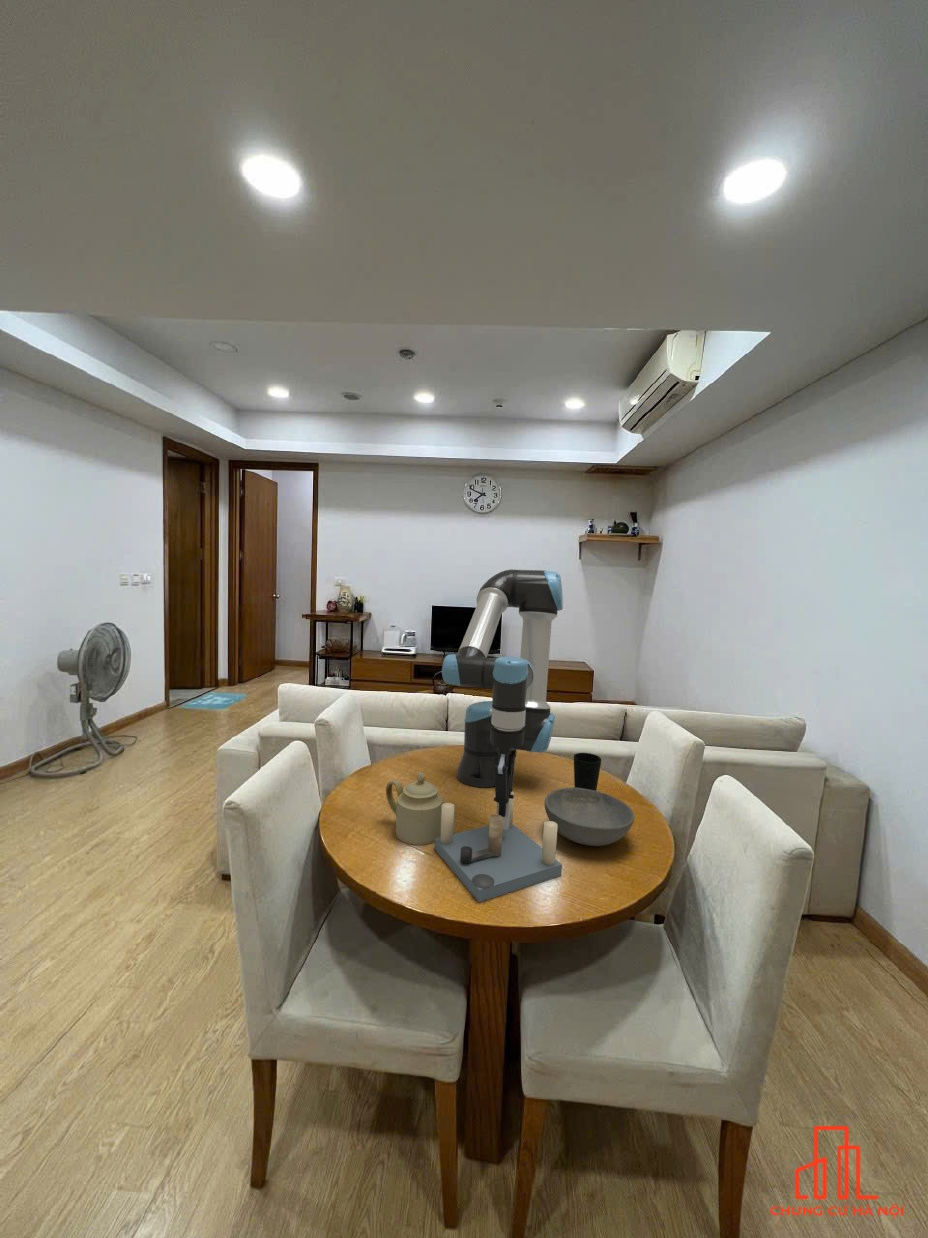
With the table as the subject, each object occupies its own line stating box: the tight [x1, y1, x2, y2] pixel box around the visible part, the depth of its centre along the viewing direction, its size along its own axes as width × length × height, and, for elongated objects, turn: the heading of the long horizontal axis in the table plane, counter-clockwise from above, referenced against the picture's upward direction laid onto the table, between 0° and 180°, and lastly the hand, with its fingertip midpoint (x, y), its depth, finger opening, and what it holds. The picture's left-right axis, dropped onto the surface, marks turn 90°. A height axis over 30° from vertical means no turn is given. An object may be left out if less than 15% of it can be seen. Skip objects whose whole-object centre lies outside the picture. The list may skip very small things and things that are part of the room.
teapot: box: [385, 772, 444, 846], centre depth 117 cm, size 15×11×15 cm
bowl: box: [544, 787, 635, 847], centre depth 119 cm, size 21×21×8 cm
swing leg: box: [460, 814, 503, 864], centre depth 103 cm, size 10×3×8 cm, turn 118°
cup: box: [573, 752, 602, 791], centre depth 139 cm, size 8×8×12 cm
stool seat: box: [433, 791, 563, 903], centre depth 106 cm, size 20×20×11 cm
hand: (502, 827), depth 112 cm, fingers closed
